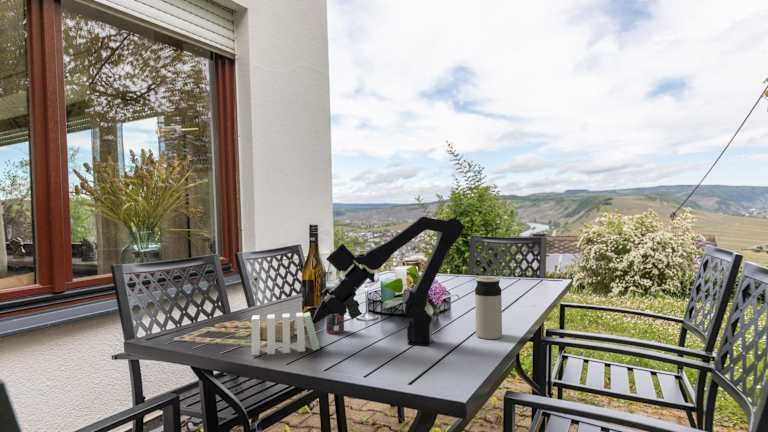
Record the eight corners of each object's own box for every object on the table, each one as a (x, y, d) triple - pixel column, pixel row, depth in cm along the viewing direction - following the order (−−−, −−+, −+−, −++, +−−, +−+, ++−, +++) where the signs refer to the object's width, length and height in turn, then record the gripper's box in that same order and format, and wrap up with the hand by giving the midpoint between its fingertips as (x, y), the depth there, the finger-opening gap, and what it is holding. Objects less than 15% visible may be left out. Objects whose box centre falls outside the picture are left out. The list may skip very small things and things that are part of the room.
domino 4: (304, 346, 131) (302, 312, 131) (305, 351, 126) (303, 315, 126) (297, 346, 131) (295, 312, 131) (298, 351, 126) (296, 316, 126)
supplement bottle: (341, 334, 144) (340, 299, 144) (323, 333, 145) (323, 299, 145) (346, 329, 150) (346, 296, 150) (329, 329, 151) (329, 295, 151)
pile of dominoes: (310, 327, 156) (310, 311, 156) (270, 350, 130) (270, 331, 130) (224, 322, 165) (224, 307, 165) (171, 343, 139) (170, 325, 139)
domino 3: (290, 347, 130) (289, 313, 130) (290, 352, 126) (289, 317, 126) (283, 348, 130) (282, 313, 130) (282, 353, 125) (282, 317, 125)
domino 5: (318, 343, 132) (309, 311, 132) (319, 348, 127) (310, 315, 127) (312, 345, 132) (302, 313, 131) (313, 350, 127) (303, 317, 126)
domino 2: (275, 348, 130) (274, 314, 130) (274, 353, 125) (274, 318, 125) (268, 349, 129) (267, 314, 129) (267, 354, 124) (266, 318, 124)
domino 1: (260, 349, 129) (259, 315, 129) (259, 355, 124) (258, 319, 124) (253, 350, 128) (252, 315, 128) (251, 355, 123) (251, 319, 123)
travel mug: (497, 341, 133) (496, 281, 133) (471, 337, 138) (471, 279, 138) (505, 335, 140) (504, 277, 140) (481, 331, 144) (480, 276, 144)
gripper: (375, 307, 124) (336, 350, 122) (364, 295, 142) (330, 332, 140) (347, 280, 122) (306, 322, 120) (339, 272, 140) (304, 309, 138)
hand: (313, 322), depth 129 cm, fingers closed, pressing on domino 5
